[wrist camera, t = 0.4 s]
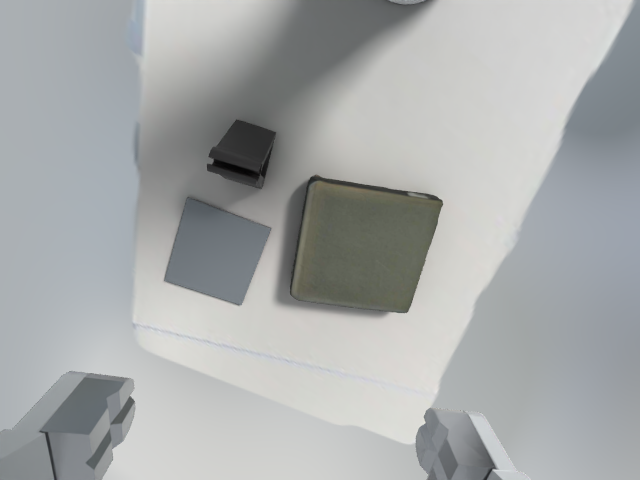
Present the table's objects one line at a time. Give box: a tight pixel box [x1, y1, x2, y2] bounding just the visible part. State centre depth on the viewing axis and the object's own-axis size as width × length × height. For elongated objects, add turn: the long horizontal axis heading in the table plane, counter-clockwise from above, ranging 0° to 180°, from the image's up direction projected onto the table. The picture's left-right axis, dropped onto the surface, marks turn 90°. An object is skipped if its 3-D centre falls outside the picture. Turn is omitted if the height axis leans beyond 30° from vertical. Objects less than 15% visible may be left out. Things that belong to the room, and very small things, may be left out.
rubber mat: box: [164, 197, 271, 305], centre depth 54 cm, size 16×14×1 cm
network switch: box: [290, 175, 443, 313], centre depth 53 cm, size 23×23×5 cm
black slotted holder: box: [207, 119, 276, 189], centre depth 43 cm, size 9×6×12 cm, turn 162°
